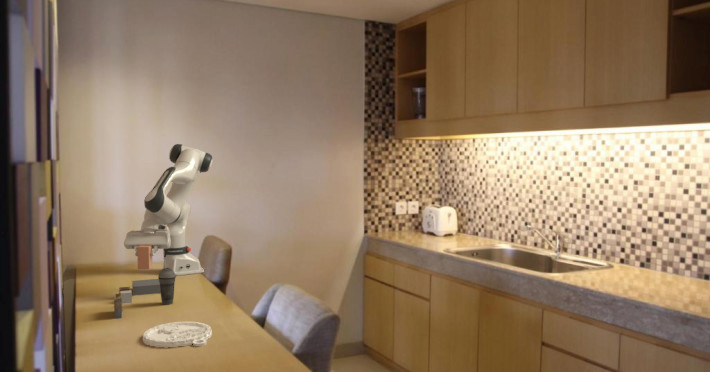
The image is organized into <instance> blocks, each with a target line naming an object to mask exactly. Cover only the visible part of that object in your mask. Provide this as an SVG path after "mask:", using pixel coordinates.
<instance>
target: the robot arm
mask: <svg viewBox="0 0 710 372" xmlns="http://www.w3.org/2000/svg"><path fill="white" fill-rule="evenodd" d="M168 154H169V155H168V156H169V158H168V159H169V161H170V162H171V163H173V164H174V165H173V166H169V167H168V168H166V170H164V172H163V173H162V174H161V176H160V177H159V179H158V180H157V181H156V183H155V185H154V186H153V187H152V189H151V190H150V191H149V192H148V193H147V194H146V196H145V197H144V208H145V211H144V212H145V213H144V215H143V221H142V224H141V227H140V230H130V231H129V232H126V237H125V239H124V241H123V245H124V247H125V249H126V250H135V253H134V255H135V257H137V247H138V246H143V245H152V251H150V256H152V257H154V256H155V254H156V253H157V251H158V250H159V249H161V250H162V253H163V254H162V255H163V259H164V258H165V263H166V268H171V269H172V270H173V271H174V272H175V276H176V277H178V276H184V275H185V276H186V275H194V274H201V273H204V272H205V271H204V269H205V268H204V267H203V266H201V262H200V259H199V258H198V257H197V256H195V255H194V254H192V253H191V251H192V248H191V247H190V246H187V245H186V233H187V225H188V219H189V216H190V214H191V209H192V207H191V206H190V205H191V204H189V203H188V202H187V201H188V199H189V198H190V197H191V195H192V193H193V190H194V187H195V184H196V181H197V177H198V174H199V173H206V172H209V170H210V169H211V168H212V166H213V162H214V161H213V156H212V154H211V153H209V152H205V151H204V150H201V149H198V148H196V147H195V148H194V147H191V146H187V145H183V144H180V143H175V144H174V145H173V146H172V147H171V148H170V149H169V153H168ZM171 182H172V184H171ZM170 184H171V186H170ZM169 186H170V189H169V191H168V192H167V194H166V190H167V189H168V187H169ZM202 267H203V268H204V269H203V268H202ZM164 268H165V265H164V263H163V266H162V269H164Z"/></svg>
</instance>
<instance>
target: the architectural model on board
mask: <svg viewBox="0 0 710 372" xmlns="http://www.w3.org/2000/svg"><path fill="white" fill-rule="evenodd" d="M113 305H114V306H113V309H114V310H113V311H114V315H113V316H114V318H113V319H115V320H117V319H122V317H123V315H122V314H123V303H122V293H120V294H119V293H115V294H114V299H113Z"/></svg>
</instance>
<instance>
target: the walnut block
mask: <svg viewBox="0 0 710 372" xmlns="http://www.w3.org/2000/svg"><path fill="white" fill-rule="evenodd" d="M129 290H131V286H123V287H121V286H120V287H118V294H120V291H129Z"/></svg>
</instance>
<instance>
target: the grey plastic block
mask: <svg viewBox="0 0 710 372" xmlns="http://www.w3.org/2000/svg"><path fill="white" fill-rule="evenodd" d="M120 293H122V304H130V303H131V304H132V303H133V300H132V299H133V290H131V289H130V290H129V291H120Z"/></svg>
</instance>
